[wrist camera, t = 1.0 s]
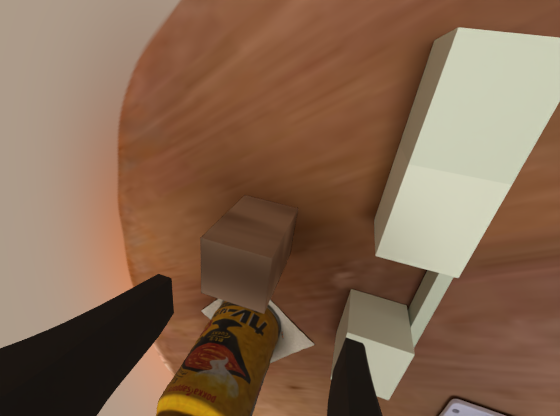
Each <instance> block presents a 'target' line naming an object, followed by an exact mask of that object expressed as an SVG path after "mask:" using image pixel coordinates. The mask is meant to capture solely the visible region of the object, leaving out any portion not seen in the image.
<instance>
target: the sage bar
mask: <svg viewBox="0 0 560 416" xmlns="http://www.w3.org/2000/svg"><path fill="white" fill-rule="evenodd" d="M559 101H560V38H557V37H547V36H538V35H528V34H518V33H508V32H498V31H489V30H479V29H469V28H459V27H458V28H456V29H455V30H453V31H451V32H449V33H447V34H445V35H443V36H442V37H440V38H438V39H436V40H434V43H433V46H432V49H431V52H430V55H429V58H428V61H427V64H426V67H425V70H424V73H423V76H422V79H421V82H420V85H419V88H418V91H417V94H416V97H415V100H414V103H413V106H412V109H411V112H410V115H409V118H408V121H407V124H406V127H405V130H404V133H403V136H402V139H401V142H400V144H399V147H398V150H397V153H396V156H395V159H394V162H393V165H392V168H391V171H390V174H389V177H388V180H387V183H386V186H385V189H384V192H383V195H382V198H381V201H380V204H379V207H378V210H377V213H376V216H375V219H374V234H375V256H378V257H381V258H385V259H389V260H393V261H396V262H400V263H404V264H407V265H411V266H415V267H419V268H422V269H426V270H427V272H426V274H425V276H424V278H423V280H422V282H421V284H420V286H419V288H418V290H417V292H416V294H415V296H414V298H413V300H412V302H411V304H410V306H409V308H408V310H407V305H404V304H400V303H397V302H394V301H390V300H387V299H384V298H380V297H377V296H373V295H370V294H367V293H363V292H360V291H357V290H353V289H351V291H350V294H349V297H348V299H347V302H346V305H345V308H344V311H343V314H342V317H341V320H340V323H339V326H338V329H337V332H336V339H335V347H334V355H333V363H332V371H331V380H332V374H333V369H334V367H335V364H336V362H337V359H338V356H339V354H340V351H341V349H342V346H343V343H344V341H345V338H349V339H352V340H355V341H358V342H361V343H363V344H364V346H365V350H366V355H367V360H368V364H369V369H370V373H371V377H372V381H373V385H374V389H375V392H376V396H378V397H381V398H383V399H386V400H389V399H390V397H391V395H392V394H393V392H394V390H395V388H396V387H397V385H398V383H399V381H400V380H401V378H402V376H403V374H404V373H405V371H406V369H407V367H408V366H409V364H410V362H411V360H412V359H413V357H414V355H415V353H414V347H415V345H416V343H417V342H418V340H419V338H420V336H421V335H422V333H423V331H424V329H425V327H426V326H427V324H428V322H429V320H430V318H431V317H432V315H433V313H434V311H435V309H436V308H437V306H438V304H439V302H440V301H441V299H442V297H443V295H444V293H445V292H446V290H447V288H448V286H449V284H450V283H451V281H452V279H453V277H456V278H459V276H460V275H461V273H462V271H463V269H464V268H465V266H466V264H467V262H468V261H469V259H470V257H471V255H472V254H473V252H474V250H475V248H476V247H477V245H478V243H479V241H480V240H481V238H482V236H483V234H484V233H485V231H486V229H487V227H488V226H489V224H490V222H491V220H492V219H493V217H494V215H495V213H496V212H497V210H498V208H499V206H500V205H501V203H502V201H503V199H504V198H505V196H506V194H507V192H508V191H509V189H510V187H511V185H512V184H513V182H514V180H515V178H516V177H517V175H518V173H519V171H520V170H521V168H522V166H523V164H524V163H525V161H526V159H527V157H528V156H529V154H530V152H531V150H532V149H533V147H534V145H535V143H536V142H537V140H538V138H539V136H540V135H541V133H542V131H543V129H544V128H545V126H546V124H547V122H548V121H549V119H550V117H551V115H552V114H553V112H554V110H555V108H556V107H557V105H558V103H559Z"/></svg>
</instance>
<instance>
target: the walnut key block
mask: <svg viewBox="0 0 560 416" xmlns="http://www.w3.org/2000/svg"><path fill="white" fill-rule="evenodd" d="M297 213H298V208H295V207H291V206H287V205H283V204H279V203H275V202H271V201H267V200H263V199H259V198H255V197H251V196H247V195H244V196H243V197H242V198H241V199H240V200H239V201H238V202H237V203H236V204H235V205H234V206H233V207H232V208H231V209H230V210H229V211H228V212H227V213H226V214H225V215H224V216H222V217H221V218H220V219H219V220H218V221H217V222H216V223H215V224H214V225H213V226H212V227H211V228H210V229H209V230H208V231H207V232H206V233H205V234H204V235H203V236H202V237H201V293H203V294H206V295H209V296H212V297H215V298H218V299H221V300H224V301H227V302H230V303H233V304H236V305H239V306H242V307H245V308H248V309H251V310H254V311H257V312H260V313H263V314H264V313H265V311H266V308H267V306H268V304H269V301H270V299H271V297H272V295H273V292H274V290H275V288H276V285H277V283H278V281H279V279H280V276H281V274H282V272H283V269H284V267H285V265H286V263H287V260H288V258H289V256H290V252H291V246H292V241H293V235H294V230H295V224H296V218H297Z"/></svg>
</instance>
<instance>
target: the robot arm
mask: <svg viewBox="0 0 560 416" xmlns="http://www.w3.org/2000/svg"><path fill="white" fill-rule="evenodd" d="M173 313H174V309H173V295H172V281H171V278H169V277H166V276H163V275H160V274H157V275H156V276H154V277H152V278H150V279H148V280H146V281H144V282H143V283H141V284H139V285H137V286H135V287H133V288H132V289H130V290H128V291H126V292H124V293H122V294H120V295H119V296H117V297H115V298H113V299H111V300H109V301H107V302H105V303H104V304H102V305H100V306H98V307H96V308H94V309H91V310H89V311H87V312H85V313H83V314H81V315H79V316H77V317H75V318H73V319H71V320H69V321H67V322H65V323H62V324H60V325H58V326H56V327H53V328H51V329H49V330H46V331H44V332H42V333H39V334H37V335H35V336H32V337H30V338H27V339H24V340H22V341H19V342H16V343H14V344H12V345H8V346H6V347H3V348H0V416H97V414H98V413H99V411H100V410H101V409H102V407H103V406H104V404H105V403H106V401H107V400H108V399H109V397H110V396H111V395H112V393H113V392H114V391H115V389H116V388H117V387H118V386H119V385H120V383H121V382H122V381H123V380H124V378H125V377H126V376H127V375H128V374H129V372H130V371H131V370H132V369H133V367H134V366H135V365H136V364H137V363H138V361H139V360H140V359H141V358H142V356H143V355H144V354H145V353H146V352H147V350H148V349H149V348H150V347H151V345H152V344H153V343H154V342H155V340H156V339H157V338H158V337H159V335H160V334H161V332H162V331H163V329H164V328H165V326H166V325H167V323H168V321H169V320H170V318H171V317H172V315H173ZM327 416H382V413H381V409H380V406H379V403H378V399H377V396H376V392H375V389H374V385H373V381H372V377H371V373H370V369H369V364H368V360H367V355H366V350H365V346H364V344H363V343H361V342H358V341H355V340H352V339H349V338H345V341H344V343H343V346H342V349H341V351H340V354H339V356H338V359H337V362H336V364H335V367H334V369H333V374H332V380H331V386H330V392H329V399H328V410H327ZM439 416H506V415H503V414H500V413H497V412H494V411H491V410H488V409H486V408H483V407H480V406H477V405H474V404H471V403H468V402H465V401H463V400H460V399H452V400H451V401H450V402H449V403H448V405H447V406H446V407H445V409H444V410H443V411H442V413H441V414H440V415H439Z"/></svg>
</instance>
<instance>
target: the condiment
mask: <svg viewBox="0 0 560 416" xmlns="http://www.w3.org/2000/svg"><path fill="white" fill-rule="evenodd" d="M201 311H202V312H203V313H204V314H205V315H206V316H207V317H208V318H209V319H211V320H210V322H209V323H208V324H207V325H206V327H205V330H204V331H203V333H202V334H201V336H200V337H199V338H198V340H197V341H196V343H195V345H194V346H193V348H192V349H191V351H190V353H189V354H188V356H187V357H186V359H185V360H184V362H183V364H182V365H181V367H180V369H179V370H178V371H177V373H176V374H175V376H174V378H173V379H172V380H171V382H170V383H169V384H168V386H167V388H166V389H165V391H164V392H163V394H162V396H161V397H160V399H159V401H158V406H157V414H156V416H252V414H253V411H254V408H255V405H256V402H257V398H258V395H259V392H260V390H261V386H262V384H263V381H264V378H265V375H266V373H267V370H268V368H269V365H270V363H272V362H274V361H277V360H278V359H280V358H283V357H285V356H288V355H290V354H291V353H295V352H298V351H300V350H302V349H304V348H308V347H310V346H313V345H314V344H313V343H312V342H311V341H310V340H309V339H308V338H307V337H306V336H305V335H304V334H303V333H302V332H301V331H300V330H299V329H298V328H297V327H296V326H295V325H294V324H293V323H292V322H291V321H290V320H289V319H288V318H287V317H286V316H285V315H284V314H283V312H282V311H281V310H280V309H279V308H278V307H277V306H276V305H275V304H274V303H273V302H272V301H271V300H270V301H269V304H268V306H267V308H266V311H265V313H264V314H263V313H260V312H257V311H254V310H251V309H248V308H245V307H242V306H239V305H236V304H233V303H230V302H227V301H224V300H221V299H217V300H216V301H214V302H213V303H211V304H210V305H209V306H207V307H206V308H205V309H203V310H201ZM281 332H283V334H281ZM282 335H283V336H284V338H282Z"/></svg>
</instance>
